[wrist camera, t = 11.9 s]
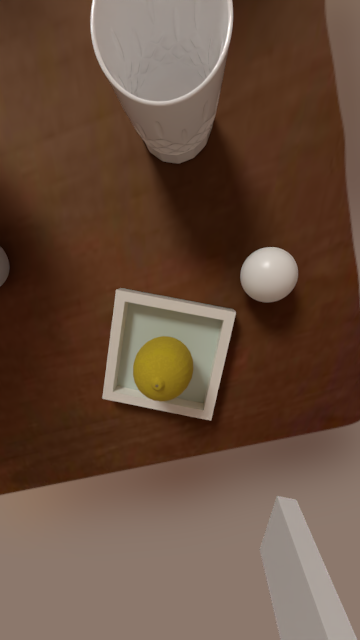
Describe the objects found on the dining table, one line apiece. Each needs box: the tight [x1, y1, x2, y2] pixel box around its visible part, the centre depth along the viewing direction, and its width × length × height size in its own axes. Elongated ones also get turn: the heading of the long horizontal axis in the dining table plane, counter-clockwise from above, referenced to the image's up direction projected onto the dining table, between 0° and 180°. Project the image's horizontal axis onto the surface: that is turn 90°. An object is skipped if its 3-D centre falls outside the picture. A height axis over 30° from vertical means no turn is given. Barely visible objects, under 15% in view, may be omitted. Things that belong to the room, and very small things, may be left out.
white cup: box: [91, 0, 233, 164], centre depth 19 cm, size 8×8×10 cm
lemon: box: [133, 336, 193, 401], centre depth 24 cm, size 6×6×8 cm
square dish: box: [102, 288, 236, 421], centre depth 27 cm, size 12×12×2 cm
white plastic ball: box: [240, 247, 298, 302], centre depth 23 cm, size 5×5×5 cm
